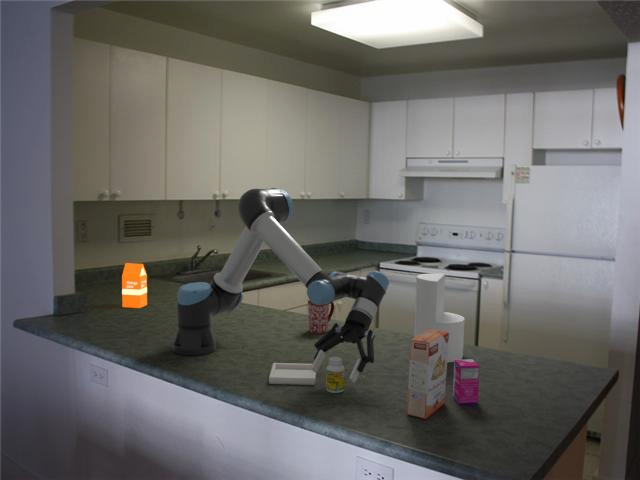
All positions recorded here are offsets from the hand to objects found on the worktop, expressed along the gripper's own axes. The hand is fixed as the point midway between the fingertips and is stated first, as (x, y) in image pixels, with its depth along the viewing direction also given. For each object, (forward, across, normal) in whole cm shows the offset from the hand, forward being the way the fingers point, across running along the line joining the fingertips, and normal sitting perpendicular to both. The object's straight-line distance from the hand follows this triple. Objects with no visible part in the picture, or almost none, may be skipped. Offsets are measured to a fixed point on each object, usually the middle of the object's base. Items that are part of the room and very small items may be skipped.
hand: (332, 375), depth 177 cm
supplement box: (-9, -34, -16) cm, 39 cm away
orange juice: (-21, +136, -28) cm, 140 cm away
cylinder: (-35, -8, -42) cm, 55 cm away
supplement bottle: (+2, 0, -5) cm, 6 cm away
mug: (-34, +42, -42) cm, 69 cm away
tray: (+1, +17, -6) cm, 18 cm away
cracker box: (0, -28, -8) cm, 29 cm away
